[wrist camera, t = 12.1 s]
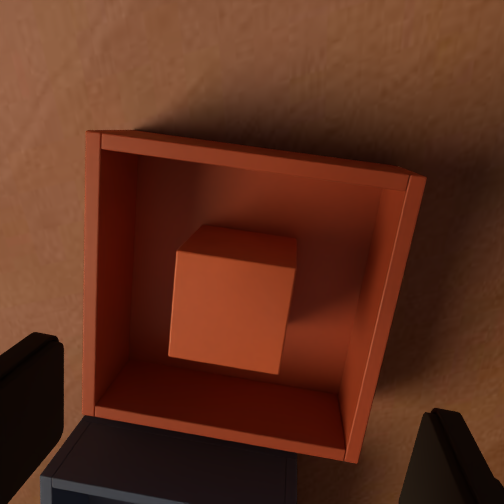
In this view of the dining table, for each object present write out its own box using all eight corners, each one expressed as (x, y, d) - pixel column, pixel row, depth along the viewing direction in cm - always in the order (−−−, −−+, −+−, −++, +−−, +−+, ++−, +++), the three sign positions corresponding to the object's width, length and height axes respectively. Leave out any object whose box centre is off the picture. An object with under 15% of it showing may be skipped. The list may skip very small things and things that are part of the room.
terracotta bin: (398, 166, 19) (428, 176, 15) (346, 400, 22) (358, 464, 18) (131, 129, 20) (85, 130, 15) (121, 361, 23) (81, 414, 19)
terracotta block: (297, 238, 20) (296, 268, 16) (282, 325, 21) (278, 376, 17) (201, 224, 20) (175, 250, 16) (193, 311, 21) (167, 357, 17)
